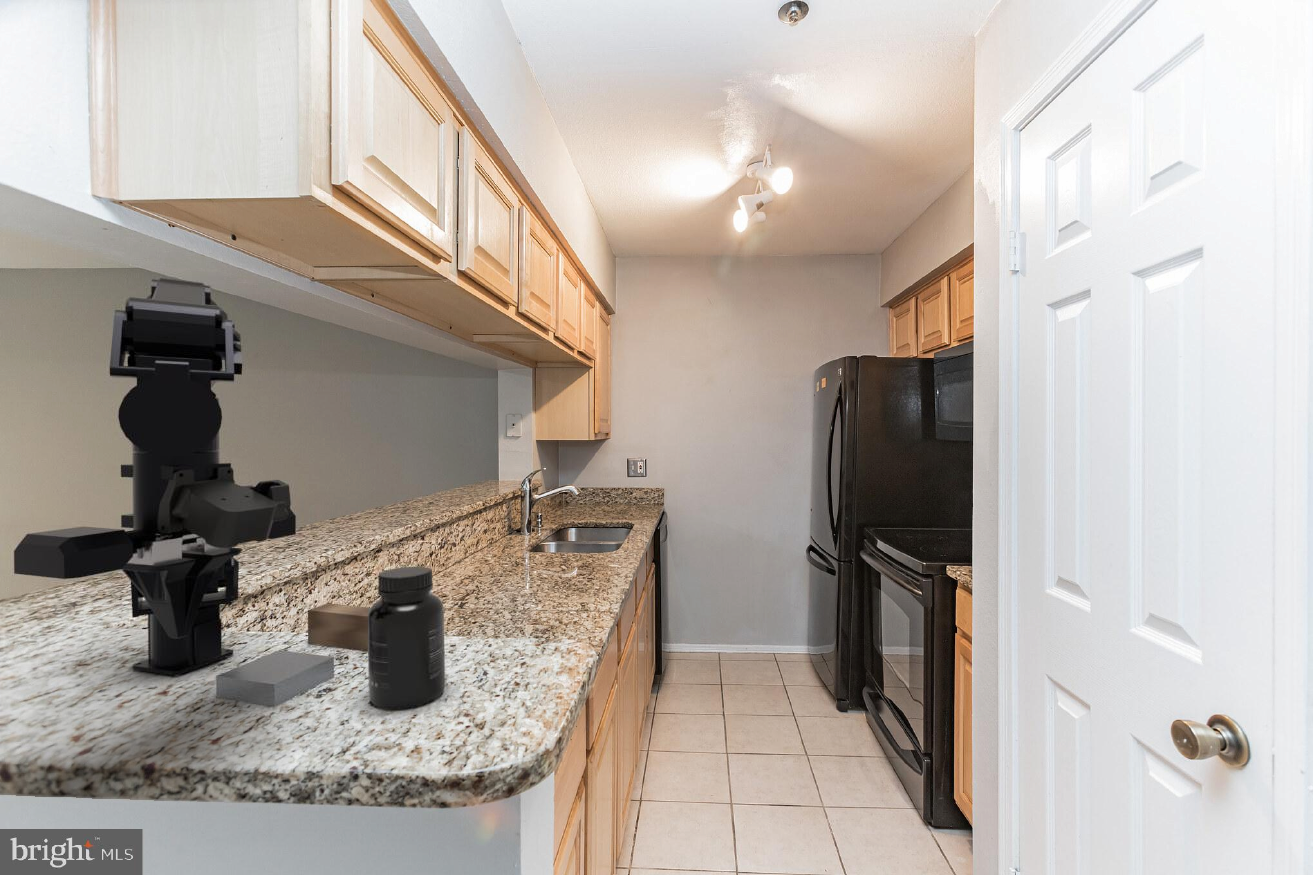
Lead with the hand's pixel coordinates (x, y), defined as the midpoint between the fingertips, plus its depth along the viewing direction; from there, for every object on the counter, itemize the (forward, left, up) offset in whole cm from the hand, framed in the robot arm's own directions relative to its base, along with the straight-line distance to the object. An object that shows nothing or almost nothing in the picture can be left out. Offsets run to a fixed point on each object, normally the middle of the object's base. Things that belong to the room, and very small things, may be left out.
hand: (178, 636), depth 51 cm
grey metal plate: (0, +9, -9) cm, 13 cm away
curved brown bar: (0, +21, -8) cm, 23 cm away
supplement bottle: (+14, +11, -8) cm, 20 cm away
